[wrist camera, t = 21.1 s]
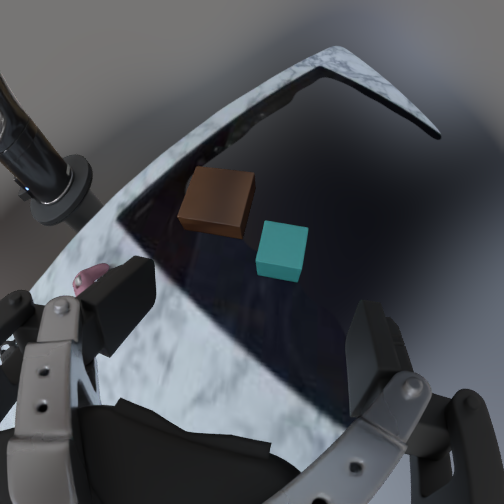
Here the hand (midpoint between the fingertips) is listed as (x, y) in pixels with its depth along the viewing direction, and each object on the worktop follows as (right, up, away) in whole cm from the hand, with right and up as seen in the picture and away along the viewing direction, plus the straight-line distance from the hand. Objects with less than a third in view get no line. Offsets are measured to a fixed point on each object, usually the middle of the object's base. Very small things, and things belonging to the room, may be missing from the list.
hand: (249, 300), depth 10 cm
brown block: (-5, +8, +32) cm, 34 cm away
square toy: (+4, +1, +29) cm, 29 cm away
